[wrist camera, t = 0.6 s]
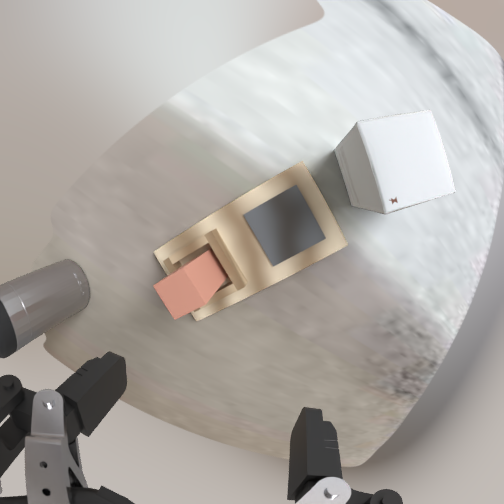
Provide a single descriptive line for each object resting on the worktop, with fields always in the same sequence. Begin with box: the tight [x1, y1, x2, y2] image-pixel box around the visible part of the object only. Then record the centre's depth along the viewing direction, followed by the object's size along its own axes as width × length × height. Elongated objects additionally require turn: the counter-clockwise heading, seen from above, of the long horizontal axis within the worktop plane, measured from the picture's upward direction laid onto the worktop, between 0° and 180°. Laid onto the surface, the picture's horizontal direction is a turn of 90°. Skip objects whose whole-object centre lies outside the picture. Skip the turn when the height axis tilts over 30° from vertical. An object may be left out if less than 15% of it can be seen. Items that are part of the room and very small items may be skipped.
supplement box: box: [334, 110, 455, 214], centre depth 23 cm, size 7×7×13 cm
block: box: [153, 248, 228, 319], centre depth 29 cm, size 4×4×9 cm
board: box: [154, 161, 348, 321], centre depth 32 cm, size 22×11×3 cm, turn 119°
